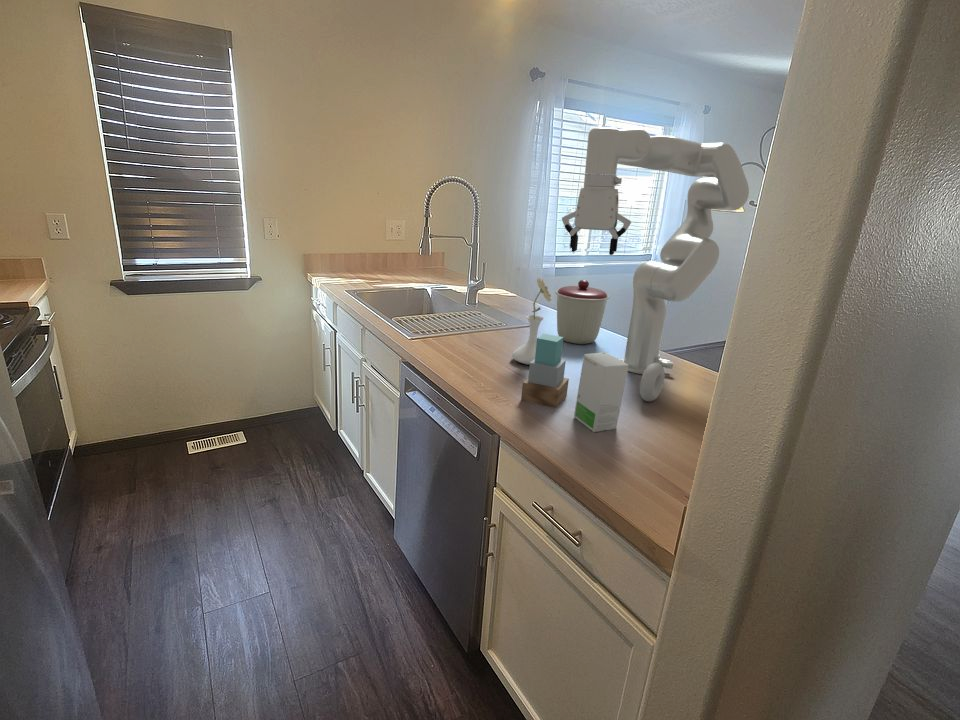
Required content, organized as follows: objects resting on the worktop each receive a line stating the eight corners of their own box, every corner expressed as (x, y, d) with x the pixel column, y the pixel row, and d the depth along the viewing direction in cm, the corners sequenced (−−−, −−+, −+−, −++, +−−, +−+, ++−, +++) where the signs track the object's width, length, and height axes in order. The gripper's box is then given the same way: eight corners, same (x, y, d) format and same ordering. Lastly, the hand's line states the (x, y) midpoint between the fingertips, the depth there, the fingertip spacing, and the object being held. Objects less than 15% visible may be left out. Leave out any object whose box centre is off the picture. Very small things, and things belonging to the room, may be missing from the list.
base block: (566, 397, 131) (568, 378, 130) (556, 409, 124) (558, 390, 122) (533, 389, 135) (534, 371, 133) (521, 401, 127) (522, 382, 125)
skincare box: (573, 417, 119) (581, 353, 114) (596, 414, 122) (605, 351, 117) (594, 433, 112) (604, 365, 107) (619, 429, 115) (630, 363, 110)
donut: (650, 393, 136) (656, 357, 133) (662, 397, 134) (669, 360, 131) (634, 403, 129) (640, 366, 126) (647, 408, 127) (654, 369, 124)
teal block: (560, 360, 127) (563, 337, 125) (554, 366, 123) (557, 341, 121) (541, 356, 129) (544, 333, 127) (534, 361, 125) (536, 338, 123)
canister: (539, 336, 182) (545, 276, 175) (575, 330, 192) (582, 274, 186) (577, 351, 168) (585, 286, 162) (613, 343, 179) (622, 283, 172)
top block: (563, 378, 129) (565, 360, 128) (555, 387, 123) (558, 368, 122) (536, 373, 132) (538, 355, 130) (527, 382, 126) (529, 362, 124)
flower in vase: (548, 370, 149) (557, 284, 141) (509, 365, 151) (516, 280, 142) (551, 356, 161) (560, 276, 153) (515, 352, 163) (522, 273, 155)
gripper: (637, 183, 127) (629, 253, 133) (568, 181, 134) (563, 248, 140) (633, 183, 121) (624, 257, 127) (561, 181, 127) (556, 251, 133)
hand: (592, 252), depth 133 cm, fingers open, 9 cm apart
